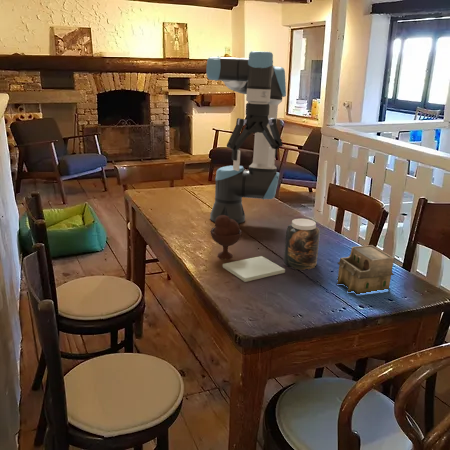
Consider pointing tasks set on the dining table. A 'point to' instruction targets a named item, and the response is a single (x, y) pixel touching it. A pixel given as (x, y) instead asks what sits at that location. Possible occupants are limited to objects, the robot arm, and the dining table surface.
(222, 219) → the ice cream bowl
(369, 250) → the miniature house
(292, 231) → the jar
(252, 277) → the board
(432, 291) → the dining table surface
